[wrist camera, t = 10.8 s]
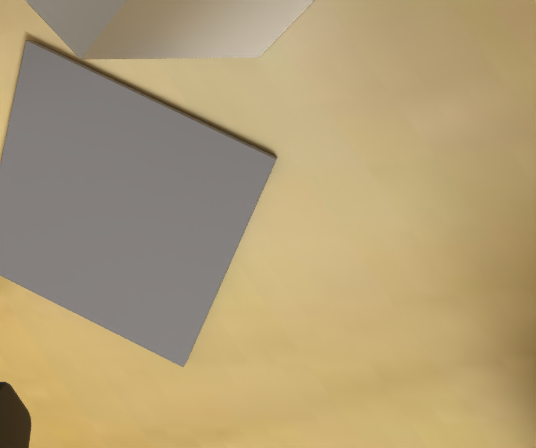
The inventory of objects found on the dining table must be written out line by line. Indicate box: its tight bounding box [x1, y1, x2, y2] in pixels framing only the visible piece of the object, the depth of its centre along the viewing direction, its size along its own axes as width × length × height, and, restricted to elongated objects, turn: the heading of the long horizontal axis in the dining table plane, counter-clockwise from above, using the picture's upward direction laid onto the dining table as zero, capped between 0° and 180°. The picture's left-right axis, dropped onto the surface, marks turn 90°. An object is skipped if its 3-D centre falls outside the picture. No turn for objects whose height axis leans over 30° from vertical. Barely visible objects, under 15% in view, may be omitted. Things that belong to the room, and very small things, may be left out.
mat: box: [0, 40, 277, 367], centre depth 21 cm, size 11×11×1 cm
